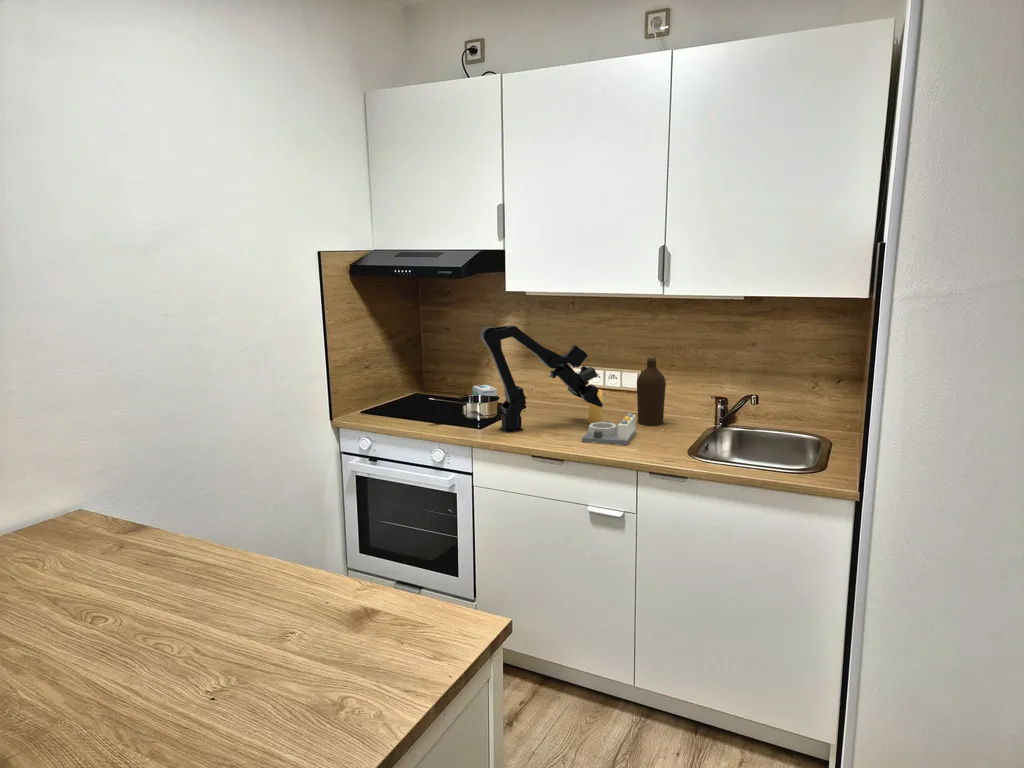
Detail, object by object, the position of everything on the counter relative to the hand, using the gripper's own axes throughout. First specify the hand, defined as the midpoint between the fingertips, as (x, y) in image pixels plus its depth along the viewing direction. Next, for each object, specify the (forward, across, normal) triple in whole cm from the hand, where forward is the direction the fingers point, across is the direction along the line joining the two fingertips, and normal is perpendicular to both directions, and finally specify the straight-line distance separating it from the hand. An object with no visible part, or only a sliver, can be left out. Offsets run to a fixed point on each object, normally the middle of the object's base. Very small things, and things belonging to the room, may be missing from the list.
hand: (597, 403), depth 256 cm
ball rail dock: (+2, -21, +8) cm, 22 cm away
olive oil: (+19, -7, -8) cm, 21 cm away
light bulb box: (-21, +30, +31) cm, 48 cm away
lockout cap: (+5, 0, +6) cm, 7 cm away
